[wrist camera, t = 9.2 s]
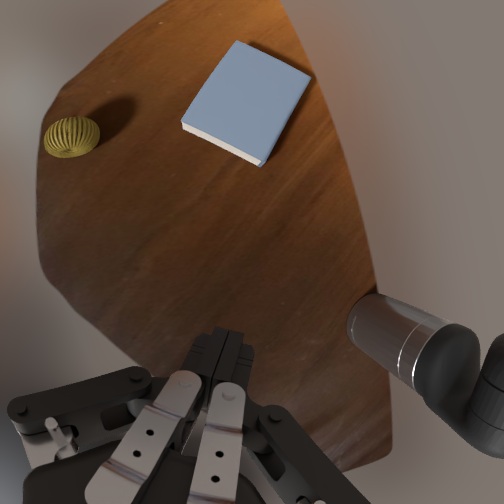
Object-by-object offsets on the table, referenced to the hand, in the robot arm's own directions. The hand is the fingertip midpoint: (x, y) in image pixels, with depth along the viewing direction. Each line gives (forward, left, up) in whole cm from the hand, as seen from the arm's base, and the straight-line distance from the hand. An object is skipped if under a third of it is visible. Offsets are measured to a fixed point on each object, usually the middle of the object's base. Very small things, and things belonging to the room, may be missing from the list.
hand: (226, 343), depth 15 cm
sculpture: (+18, -19, -25) cm, 36 cm away
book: (-2, -16, -24) cm, 29 cm away
